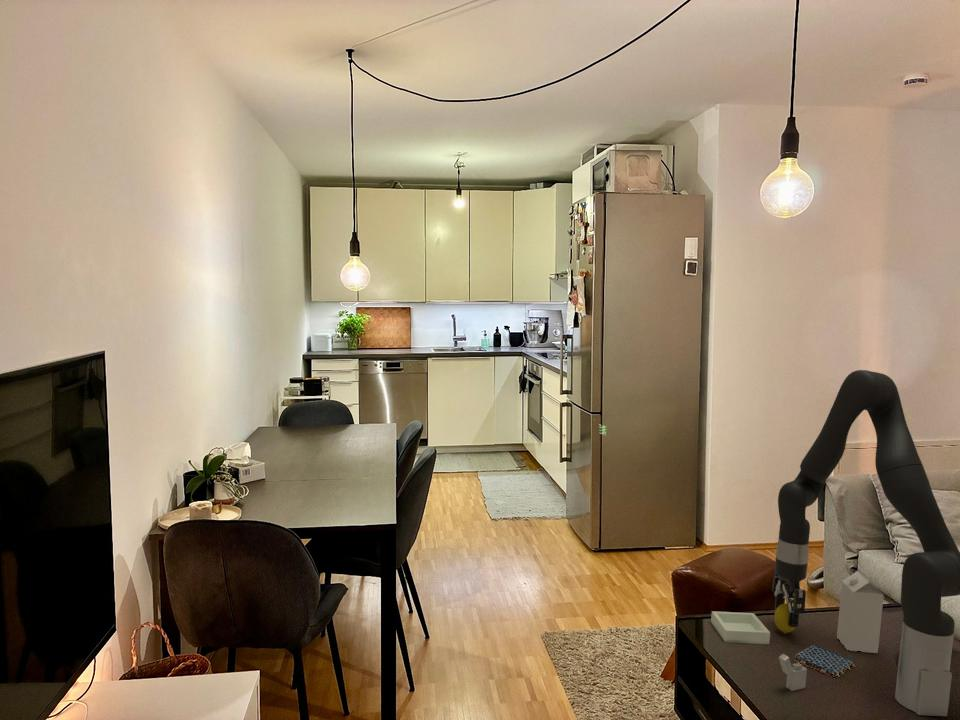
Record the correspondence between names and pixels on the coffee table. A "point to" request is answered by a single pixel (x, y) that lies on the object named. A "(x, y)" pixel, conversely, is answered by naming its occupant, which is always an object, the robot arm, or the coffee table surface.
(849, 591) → the milk carton
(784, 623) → the lemon
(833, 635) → the coffee table surface
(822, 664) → the woven mat
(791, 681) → the lighter
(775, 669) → the coffee table surface
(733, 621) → the tray
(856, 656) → the coffee table surface
